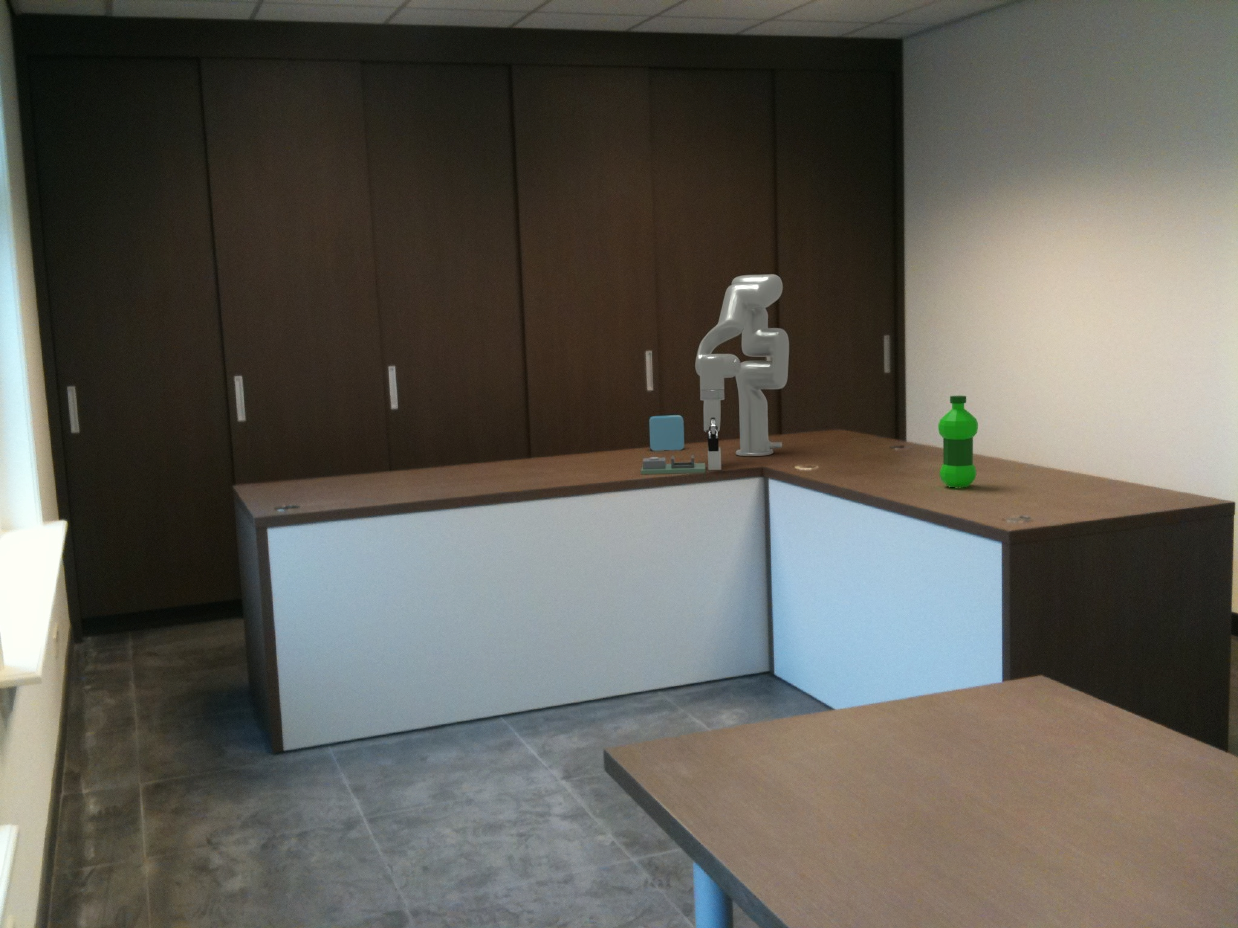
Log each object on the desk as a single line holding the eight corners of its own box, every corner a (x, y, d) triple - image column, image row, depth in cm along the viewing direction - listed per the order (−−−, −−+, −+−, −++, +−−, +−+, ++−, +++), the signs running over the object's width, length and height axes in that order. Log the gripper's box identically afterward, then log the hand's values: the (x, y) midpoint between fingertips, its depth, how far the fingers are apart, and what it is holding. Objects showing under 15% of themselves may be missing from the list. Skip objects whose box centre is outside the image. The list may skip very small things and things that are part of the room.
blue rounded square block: (683, 448, 436) (682, 414, 434) (684, 450, 431) (683, 416, 429) (650, 449, 436) (649, 416, 434) (650, 451, 431) (649, 417, 429)
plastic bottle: (965, 482, 341) (965, 393, 338) (984, 488, 331) (984, 396, 328) (932, 485, 339) (932, 395, 336) (950, 491, 329) (950, 399, 325)
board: (705, 466, 390) (704, 453, 389) (705, 472, 378) (705, 458, 378) (642, 468, 391) (642, 455, 391) (641, 474, 380) (640, 460, 379)
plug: (720, 467, 387) (720, 445, 386) (721, 469, 383) (720, 446, 382) (708, 468, 387) (707, 445, 386) (708, 470, 383) (707, 447, 382)
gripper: (700, 393, 390) (701, 446, 392) (700, 397, 373) (701, 452, 375) (723, 393, 390) (724, 446, 392) (725, 396, 373) (725, 452, 375)
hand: (713, 449), depth 383 cm, fingers open, 9 cm apart
